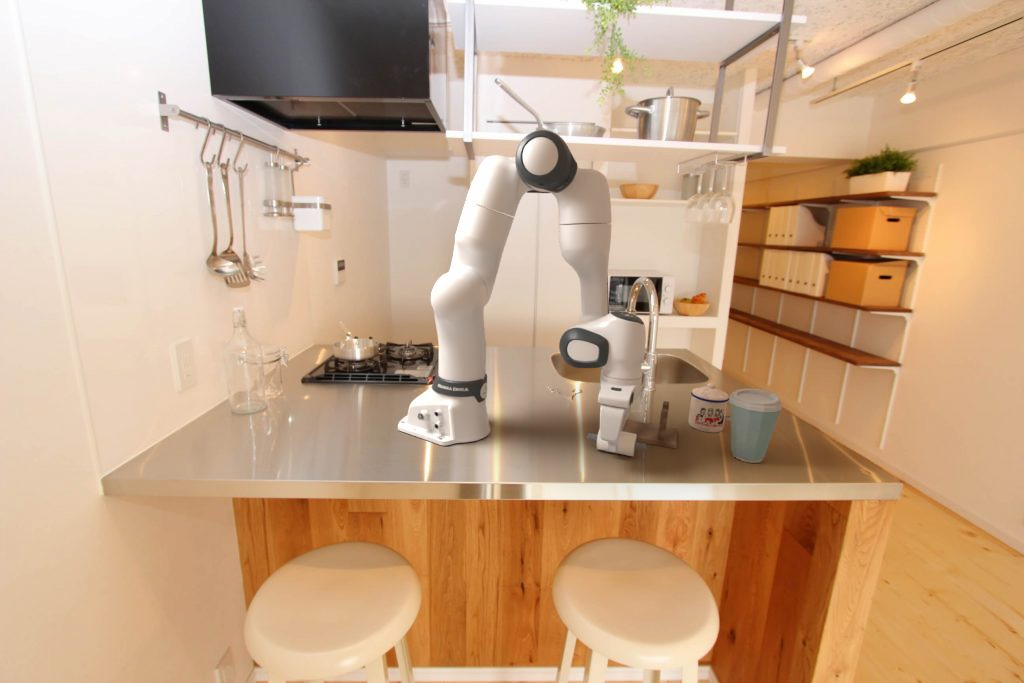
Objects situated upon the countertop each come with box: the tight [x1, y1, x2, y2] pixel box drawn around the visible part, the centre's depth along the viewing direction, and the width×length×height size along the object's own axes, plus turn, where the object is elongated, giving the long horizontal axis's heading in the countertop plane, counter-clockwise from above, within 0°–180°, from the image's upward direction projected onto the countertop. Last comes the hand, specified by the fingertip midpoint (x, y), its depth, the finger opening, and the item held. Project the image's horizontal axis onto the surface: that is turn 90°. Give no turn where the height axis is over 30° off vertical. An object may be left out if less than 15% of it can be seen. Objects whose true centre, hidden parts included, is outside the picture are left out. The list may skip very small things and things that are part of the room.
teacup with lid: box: [687, 382, 731, 433], centre depth 123 cm, size 12×9×12 cm
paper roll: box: [586, 428, 648, 457], centre depth 107 cm, size 13×5×5 cm
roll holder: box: [622, 400, 679, 449], centre depth 117 cm, size 18×10×8 cm, turn 69°
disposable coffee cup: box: [728, 388, 783, 464], centre depth 107 cm, size 11×11×15 cm
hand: (614, 444), depth 107 cm, fingers closed on paper roll, 5 cm apart
